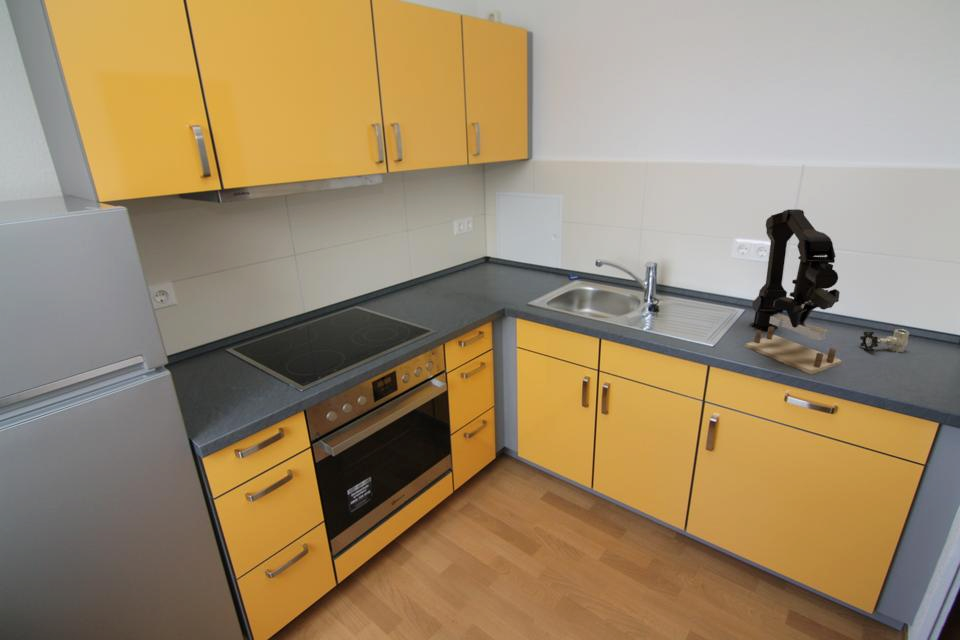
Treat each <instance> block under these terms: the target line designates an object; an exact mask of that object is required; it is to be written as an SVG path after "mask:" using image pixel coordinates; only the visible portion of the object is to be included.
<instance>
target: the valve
mask: <svg viewBox="0 0 960 640" xmlns="http://www.w3.org/2000/svg"><path fill="white" fill-rule="evenodd" d="M873 335H875V332H874V331H863V335H861V336H860V338H859V339H860V340H861V341H862V342H860V347H864V348H863V351H865V352H875V348H876V347H878V346H879V345H883V344H884V345H885V346H888V347H889V350H890V351H893V352H895V351H896V353H904V352H905V348H906V346H907V345H908V343H909V335H910V332H909V330H906V329H902V328H896V329H894V332H893V335H892V336H890V335H889V336H888V335H887V336H885V337H884V338H881V337H880V338H879V337H878V336H873Z"/></svg>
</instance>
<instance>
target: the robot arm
mask: <svg viewBox="0 0 960 640" xmlns="http://www.w3.org/2000/svg"><path fill="white" fill-rule="evenodd" d="M765 229H766V232H765V233H766V235H767V237H768V239H769V240H770V246H769V253H768V261H767V271H766V279H765V284H763V286H762V287H761V288H760V289H759V292H758V296H756V298H755V299H754V300H753V301H752V305H751V308H752V310H754V311H755V313H754V319H753V322H751V323H750V326H752V327H754V328H757V329H758V330H761V331H763V332H768V328H769V327H774V330H775V329H778V328H779V326H776V325H773V324H770V323H769V321H770V316H772V315H776V314H783V312H784V311H785V312H786V313H787V316H788V318H790V321H791V324H792V327H795V328H796V327H797V325H798V322H802V323H805V322H806V320H807V318H808V317H809V316H810V314H811V313H812V311H814V310H815V309H817V308H819V309H820V310H824V311H825V310H827V309H831V308H832V307H834V305H835V303H838V302H840V300H839V299H840V290H839V289H836V288H835V289H831V290H829V289H830V288H832V287H833V286H835V285H836V284H837V282H838V281H839V276H838V275H839V274H838V272H837V271H836V270H834V269H833V268H834V265H833V264H834V263H835V261H836V260H835V258H836V254H835V252H836V251H835V249H834V244H833V241H832V239H831V237H830V236H828V235H827V234H826V233H824V232H821V231H818V230H817V229H815V227H814V226H813V225H812V224H811V222H810V221H809V219H808V218H807V217H806V216H805V211H804V210H803V209H797V208H796V209H793V208H792V209H786V210H783V211H781V212H778V213H775V214H771V216H770V217H769V216H768V218H766V221H765ZM794 235H795V237H796V238H797V239H798V243H797V250H798V253H799V256H798V260H800V261H799V265H798V269H797V274H796V278H795V279H792V283H791V284H794V287H793V292H790V293H789V297H788V296H787V295H788V292H787V290H785V288H784V286H783V276H784V269H785V260H786V252H787V246H788V241H789V240H790V239H791V238H792V236H794ZM832 263H833V264H832Z"/></svg>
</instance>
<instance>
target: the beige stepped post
mask: <svg viewBox="0 0 960 640" xmlns="http://www.w3.org/2000/svg"><path fill="white" fill-rule="evenodd" d="M769 323H770V324H773V325H776V326H778V327H782V328H785V329H788V330H790V331H793V332H796V333H798V334H801V335H804V336H806V337H807V338H809V339H812V340H815V341H821V340H824V339H827V336H828V333H829V329H826V328H823V327H820V326H814V325H810V324H808V323H805V322H804V323H802V322H798V325H797V327H796V328H795V327H792V324H791V321H790V318H789V316H788V315H784V314H783V313H778V314H776V315H772V316H770V321H769Z"/></svg>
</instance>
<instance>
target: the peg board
mask: <svg viewBox="0 0 960 640" xmlns="http://www.w3.org/2000/svg"><path fill="white" fill-rule="evenodd" d="M774 330H775V329H774V327H769V328H768V331H767V334H766V336H765V337H762V332H763V330H762V329H756V330H755V335H754V340H753V341H750V342H746V343H745V345H744V347H745V348H746V349H750V350H751V351H754V352H757V353H759V354H762V355H764V356H765V357H766V356H767V357H768V358H771V359H773V360H775V361H777V362H780V363H782V362H783V363H782V364H785V365H788V366H790V367H792V368H794V369H797V370H800V371H802V372H804V373H807V374H809V375H813V374H814V375H815V374H818V373H819V372H822V371H825V370H828V369H831V368H834V367H836V366H839V365H842V361H843V360H842V359H839V358H837V357H836V352H837V350H836V349H835V348H829V349H828V354H826V353H823V352H821V351H818V350H815V349H813V348H811V347H808V346H805V345H802V344H799V343H797V342H794V341H793V340H792V341H791V340H788V339H786V338H784V337H781V336H778V335H775V334H774Z"/></svg>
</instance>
